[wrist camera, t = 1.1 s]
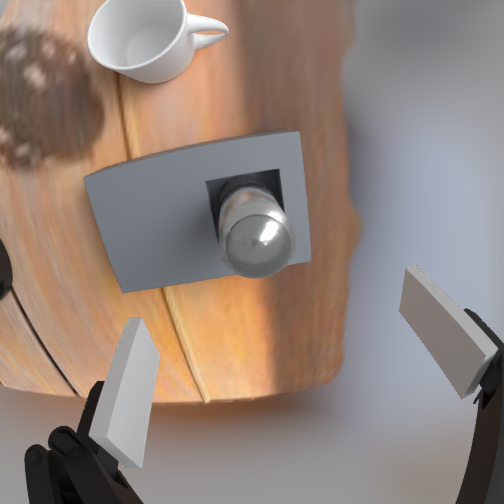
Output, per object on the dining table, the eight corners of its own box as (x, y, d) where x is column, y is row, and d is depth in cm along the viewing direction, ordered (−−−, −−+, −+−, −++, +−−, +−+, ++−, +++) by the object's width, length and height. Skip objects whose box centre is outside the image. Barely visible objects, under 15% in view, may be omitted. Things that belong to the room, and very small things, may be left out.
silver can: (223, 227, 33) (225, 290, 22) (214, 178, 31) (208, 216, 19) (274, 219, 33) (302, 276, 22) (267, 169, 31) (296, 201, 19)
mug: (227, 79, 28) (229, 59, 18) (124, 89, 27) (84, 79, 17) (227, 14, 24) (230, -26, 15) (126, 26, 23) (91, -4, 13)
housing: (135, 268, 37) (122, 293, 31) (104, 167, 30) (83, 177, 25) (298, 239, 37) (311, 260, 32) (286, 129, 31) (299, 131, 26)
